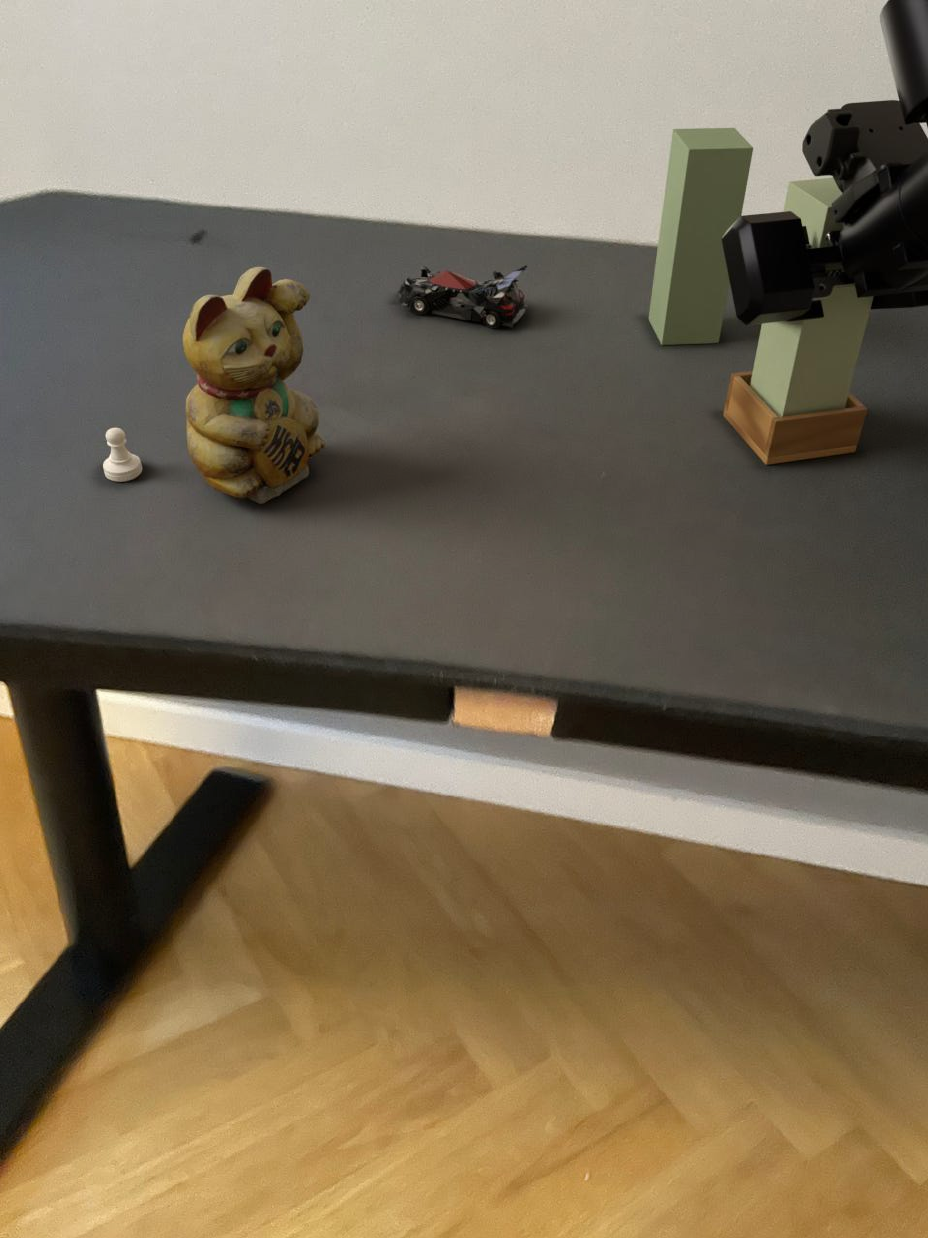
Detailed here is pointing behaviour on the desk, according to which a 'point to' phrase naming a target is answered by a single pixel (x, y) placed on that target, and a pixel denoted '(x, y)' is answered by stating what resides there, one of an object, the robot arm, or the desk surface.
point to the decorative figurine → (249, 389)
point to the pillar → (697, 233)
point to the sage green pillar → (812, 327)
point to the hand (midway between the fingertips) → (806, 307)
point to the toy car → (465, 297)
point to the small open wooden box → (791, 426)
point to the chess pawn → (120, 458)
